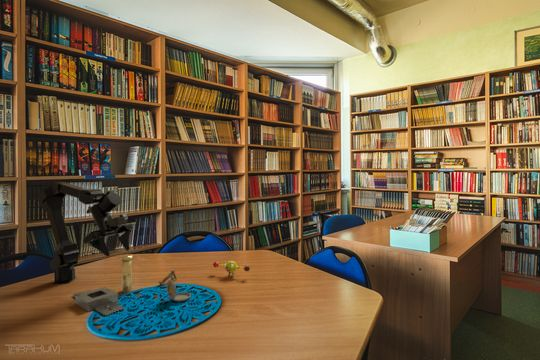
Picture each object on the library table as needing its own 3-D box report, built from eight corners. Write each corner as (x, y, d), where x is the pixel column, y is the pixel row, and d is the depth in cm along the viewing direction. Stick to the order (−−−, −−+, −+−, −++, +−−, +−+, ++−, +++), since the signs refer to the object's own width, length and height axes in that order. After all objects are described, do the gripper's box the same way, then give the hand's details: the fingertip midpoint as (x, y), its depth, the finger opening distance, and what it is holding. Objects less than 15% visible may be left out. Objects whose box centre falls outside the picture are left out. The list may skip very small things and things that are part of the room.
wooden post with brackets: (179, 277, 133) (175, 269, 131) (165, 290, 127) (161, 281, 125) (176, 276, 134) (173, 268, 132) (162, 289, 128) (158, 281, 126)
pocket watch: (194, 296, 115) (193, 269, 115) (180, 305, 107) (180, 277, 107) (175, 293, 118) (175, 267, 117) (160, 302, 110) (160, 274, 109)
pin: (119, 293, 118) (118, 258, 118) (123, 288, 122) (122, 254, 122) (131, 292, 119) (130, 257, 118) (134, 288, 123) (134, 254, 123)
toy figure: (209, 275, 137) (209, 260, 137) (216, 271, 142) (216, 257, 142) (246, 280, 131) (246, 265, 130) (252, 276, 136) (252, 261, 135)
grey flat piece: (66, 298, 114) (66, 289, 114) (95, 289, 122) (95, 282, 122) (98, 318, 98) (98, 309, 98) (129, 307, 106) (129, 298, 106)
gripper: (93, 210, 111) (111, 249, 108) (133, 205, 128) (150, 238, 126) (75, 225, 115) (92, 263, 112) (117, 218, 132) (132, 250, 129)
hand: (118, 253), depth 120 cm, fingers open, 9 cm apart
